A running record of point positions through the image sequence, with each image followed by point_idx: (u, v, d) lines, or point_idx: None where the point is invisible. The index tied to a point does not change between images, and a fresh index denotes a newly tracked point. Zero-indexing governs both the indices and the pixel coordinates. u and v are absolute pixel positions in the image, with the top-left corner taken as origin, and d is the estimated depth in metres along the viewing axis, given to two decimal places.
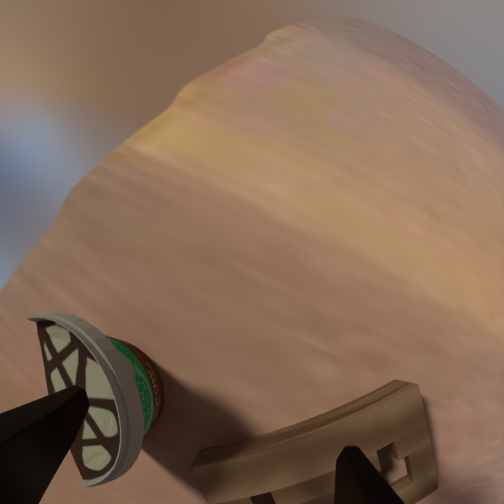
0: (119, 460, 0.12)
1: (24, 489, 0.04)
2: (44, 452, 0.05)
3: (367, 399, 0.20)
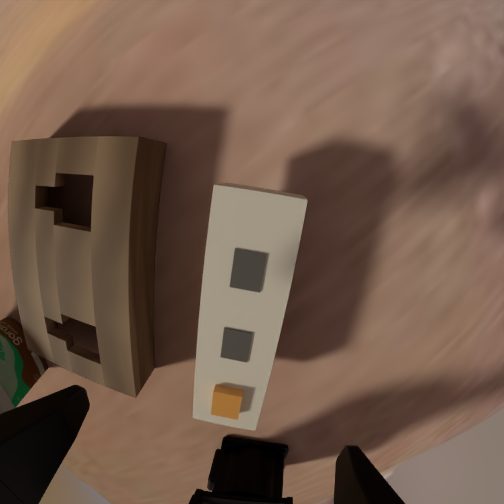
0: None
1: (24, 489, 0.04)
2: (44, 452, 0.05)
3: None
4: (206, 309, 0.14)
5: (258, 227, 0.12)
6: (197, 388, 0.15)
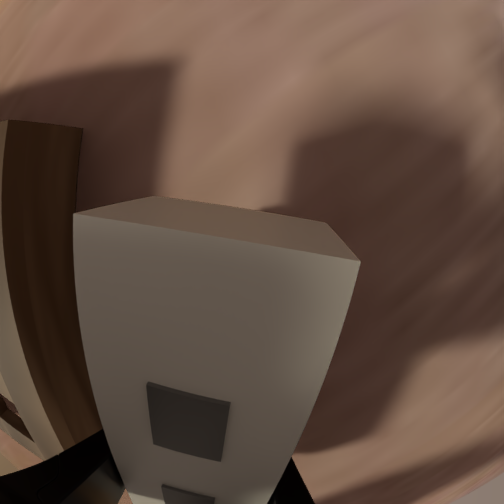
0: None
1: None
2: (107, 486, 0.05)
3: None
4: (123, 458, 0.05)
5: (200, 341, 0.04)
6: None
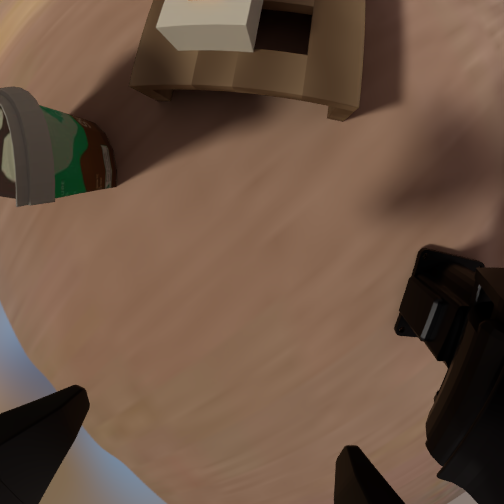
0: (10, 112, 0.08)
1: (24, 489, 0.04)
2: (44, 452, 0.05)
3: None
4: None
5: None
6: None
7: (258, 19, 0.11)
